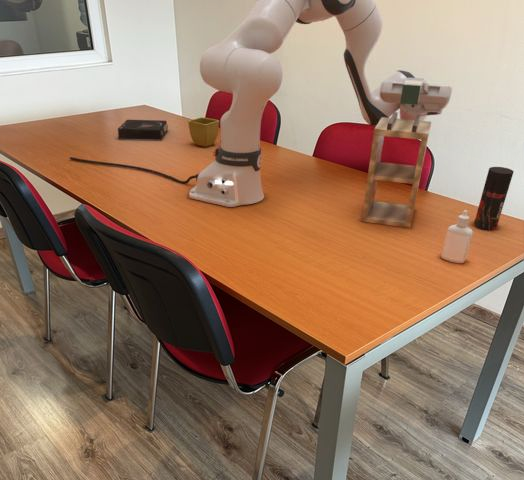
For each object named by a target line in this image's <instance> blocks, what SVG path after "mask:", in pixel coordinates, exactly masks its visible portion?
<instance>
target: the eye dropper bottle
mask: <svg viewBox="0 0 524 480" xmlns="http://www.w3.org/2000/svg"><path fill="white" fill-rule="evenodd" d="M469 221H470V216H469V215H468V210H467V209H466V210H463V212H462V214H459V215H458V216H457V220H456V224H451V225H449V226H448V228H447V230H446V233H445V237H444V241H443V245H442V250H441V254H440V258H441V259H443V260H444V261H447V262H451V263H455V264H464V263H465V262H466V261H467V257H468V254H469V250H470V246H471V243H472V239H473V235H474V231H473V229H472V228H470V227H469V226H468V225H469Z"/></svg>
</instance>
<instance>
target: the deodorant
mask: <svg viewBox="0 0 524 480" xmlns="http://www.w3.org/2000/svg"><path fill="white" fill-rule="evenodd" d="M513 175H514V170H513V169H511V168H508V167H503V166H491V167H489V168H488V171H487V174H486V178H485V182H484V186H483V189H482V193H481V196H480V200H479V203H478V208H477V210H476V211H477V212H476V214H475V218H474V222H473V226H474V227H475V228H477V229H480V230H483V231H484V230H485V231H494V230H497V227H498V225H499V221H500V218H501V215H502V211H503V208H504V205H505V202H506V199H507V195H508V192H509V188H510V186H511V182H512V178H513Z"/></svg>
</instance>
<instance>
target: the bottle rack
mask: <svg viewBox="0 0 524 480" xmlns="http://www.w3.org/2000/svg"><path fill="white" fill-rule="evenodd" d="M398 113H399V111H398V112H397V111H396V112H394V113H393V114H392V115H391V116H390V117H389V118H385V117H382V118H381V119H380V121H379V122H378V124H377V126H374V129H373V136H372V143H371V152H370V157H369V165H368V171H367V172H368V173H367V180H366V186H365V193H364V200H363V207H362V215H361V222H363V223H372V224H378V225H387V226H393V227H400V228H407V229H410V228H411V223H412V220H413V215H414V212H415V211H414V210H415V205H416V201H417V196H418V192H419V186H420V181H421V176H422V171H423V167H424V161H425V156H426V153H427V152H426V151H427V146H428V142H429V135H430V132H431V126H432V121H430V120H425V121H420V117H421V114H417V116H416V118H415V120H407V119H400V118H398ZM385 137H389V138H400V139H412V140H420V145H419V150H418V154H417V158H416V159H417V160H416V163H415V164H416V165H410V164H409V165H408V164H401V163H392V162H382V161H381V159H382V152H383V147H384V140H385ZM378 181H383V182H392V183H393V182H394V183H400V184H410V185H411V191H410V196H409V201H408V205H407V204H400V203H394V202H393V203H390V202H385V201H377V200H376V191H377V186H378Z"/></svg>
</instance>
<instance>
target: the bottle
mask: <svg viewBox="0 0 524 480" xmlns="http://www.w3.org/2000/svg"><path fill="white" fill-rule="evenodd" d="M424 80H425V78H422V77H421V78H420V77H415V78H407V79H406V81H405V82H404V84H403V88H402V95H401V101H400V103H403V104H415V105H417V104H418V102H419V100H420V97H421V92H422V87H423V81H424Z"/></svg>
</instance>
